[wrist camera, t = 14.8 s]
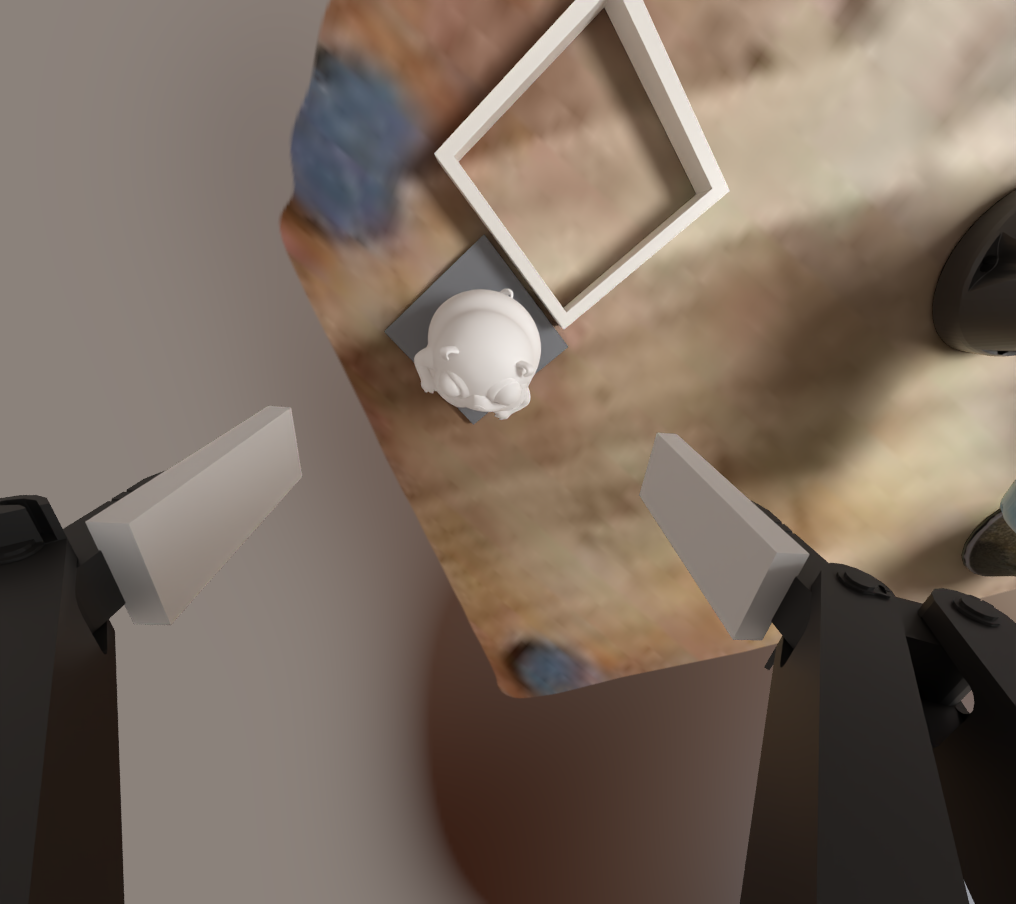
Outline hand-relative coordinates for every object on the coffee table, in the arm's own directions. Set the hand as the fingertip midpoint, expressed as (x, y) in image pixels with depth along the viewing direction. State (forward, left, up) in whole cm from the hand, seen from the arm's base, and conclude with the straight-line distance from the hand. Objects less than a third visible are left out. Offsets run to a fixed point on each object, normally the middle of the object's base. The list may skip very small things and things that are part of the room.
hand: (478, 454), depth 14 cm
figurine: (0, 0, -24) cm, 24 cm away
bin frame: (-14, -4, -24) cm, 29 cm away
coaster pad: (0, 0, -24) cm, 24 cm away
